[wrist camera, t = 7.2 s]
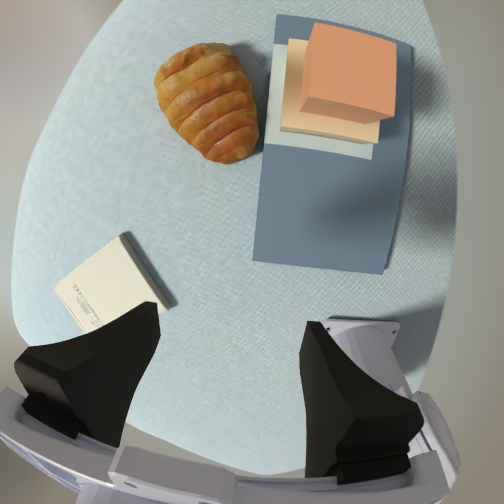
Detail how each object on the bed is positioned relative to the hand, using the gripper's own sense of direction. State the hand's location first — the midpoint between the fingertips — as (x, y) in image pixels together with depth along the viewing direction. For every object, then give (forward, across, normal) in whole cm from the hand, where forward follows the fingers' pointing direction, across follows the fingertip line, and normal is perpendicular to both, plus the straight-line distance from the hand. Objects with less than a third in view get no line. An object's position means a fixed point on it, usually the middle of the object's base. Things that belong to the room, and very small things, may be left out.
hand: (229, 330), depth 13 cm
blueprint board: (+10, -6, -10) cm, 15 cm away
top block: (+6, -4, -13) cm, 15 cm away
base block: (+10, -5, -12) cm, 16 cm away
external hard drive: (+11, +14, +6) cm, 19 cm away
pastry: (+11, +4, -12) cm, 17 cm away
